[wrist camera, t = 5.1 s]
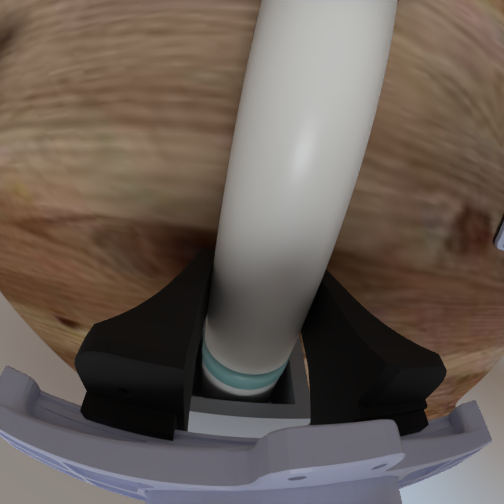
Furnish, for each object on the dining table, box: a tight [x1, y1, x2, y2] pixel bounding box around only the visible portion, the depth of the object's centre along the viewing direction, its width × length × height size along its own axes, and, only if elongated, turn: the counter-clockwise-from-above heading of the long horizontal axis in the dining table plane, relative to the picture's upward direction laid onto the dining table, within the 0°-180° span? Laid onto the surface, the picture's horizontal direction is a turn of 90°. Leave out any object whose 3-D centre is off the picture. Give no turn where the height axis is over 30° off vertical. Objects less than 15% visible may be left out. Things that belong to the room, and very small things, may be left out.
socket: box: [188, 316, 310, 438], centre depth 15 cm, size 5×7×6 cm
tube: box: [200, 0, 398, 403], centre depth 9 cm, size 23×4×4 cm, turn 169°
